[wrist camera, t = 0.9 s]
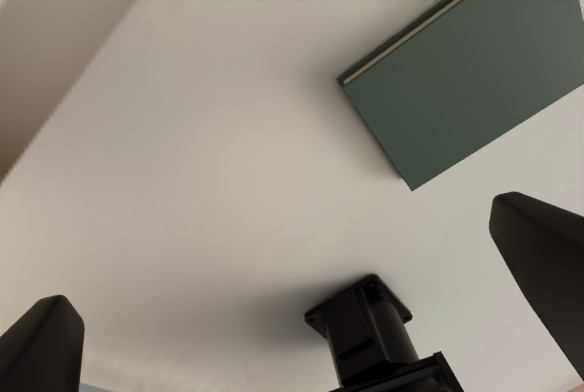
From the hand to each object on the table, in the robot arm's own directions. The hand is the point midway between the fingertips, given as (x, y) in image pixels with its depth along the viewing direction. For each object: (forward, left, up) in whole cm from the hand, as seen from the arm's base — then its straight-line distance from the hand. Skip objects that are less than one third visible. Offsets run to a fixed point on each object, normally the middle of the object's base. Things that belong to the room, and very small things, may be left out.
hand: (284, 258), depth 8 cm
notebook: (-8, -9, -14) cm, 18 cm away
